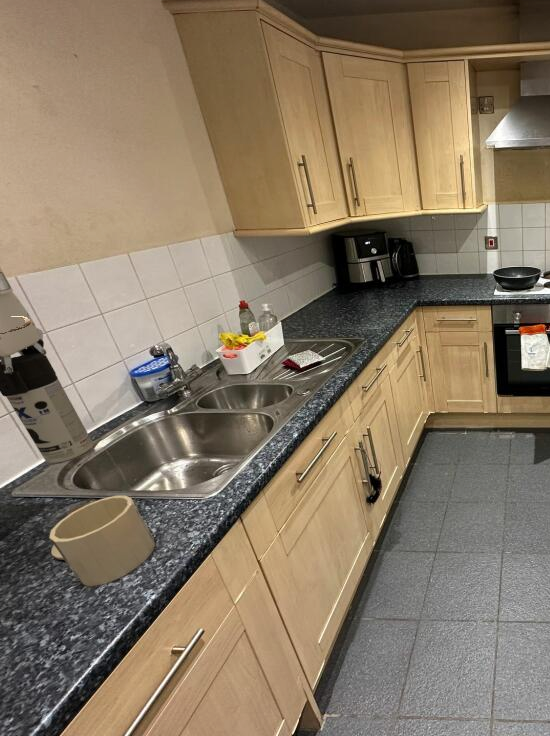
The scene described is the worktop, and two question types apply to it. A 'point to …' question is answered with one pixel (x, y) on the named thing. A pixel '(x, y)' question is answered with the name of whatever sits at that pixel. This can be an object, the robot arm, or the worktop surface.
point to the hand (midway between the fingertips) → (31, 384)
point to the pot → (103, 540)
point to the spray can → (48, 411)
